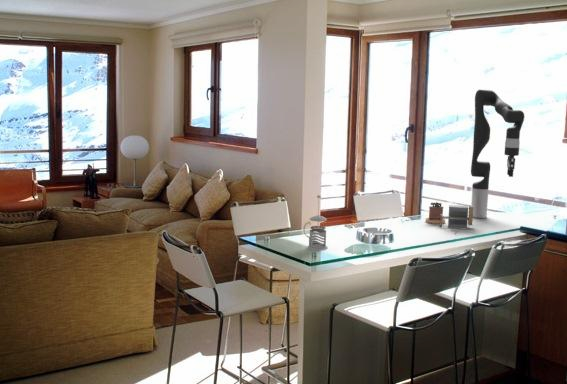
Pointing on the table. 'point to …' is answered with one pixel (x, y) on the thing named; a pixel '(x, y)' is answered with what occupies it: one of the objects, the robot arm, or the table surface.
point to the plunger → (470, 217)
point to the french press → (312, 243)
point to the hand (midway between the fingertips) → (510, 175)
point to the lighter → (435, 211)
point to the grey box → (457, 212)
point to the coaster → (434, 221)
